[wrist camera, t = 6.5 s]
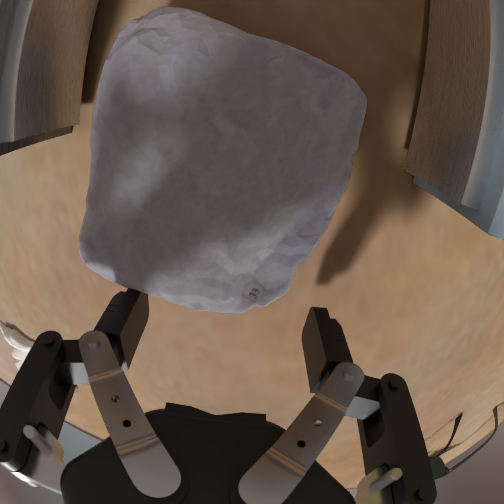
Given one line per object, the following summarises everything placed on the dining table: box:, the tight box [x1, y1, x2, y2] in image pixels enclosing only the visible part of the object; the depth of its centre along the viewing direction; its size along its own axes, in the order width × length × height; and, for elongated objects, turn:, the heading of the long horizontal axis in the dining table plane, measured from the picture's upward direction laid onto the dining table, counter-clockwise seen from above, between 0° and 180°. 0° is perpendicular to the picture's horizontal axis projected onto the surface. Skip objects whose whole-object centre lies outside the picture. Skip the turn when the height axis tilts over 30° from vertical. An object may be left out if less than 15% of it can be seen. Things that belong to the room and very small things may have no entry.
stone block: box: [79, 6, 367, 314], centre depth 11 cm, size 12×5×10 cm
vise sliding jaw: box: [403, 0, 504, 240], centre depth 7 cm, size 4×12×6 cm, turn 171°
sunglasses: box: [429, 406, 498, 480], centre depth 28 cm, size 16×17×5 cm
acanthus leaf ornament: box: [0, 321, 78, 394], centre depth 19 cm, size 8×7×2 cm
